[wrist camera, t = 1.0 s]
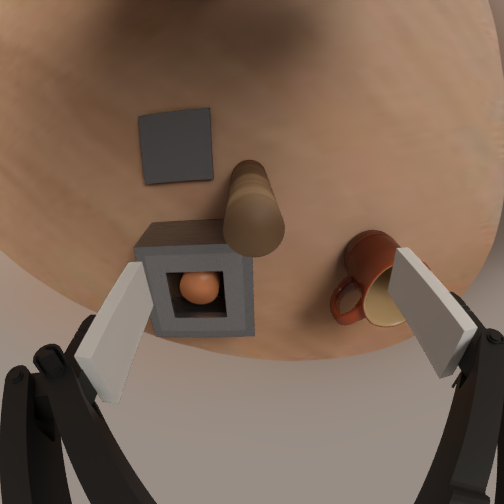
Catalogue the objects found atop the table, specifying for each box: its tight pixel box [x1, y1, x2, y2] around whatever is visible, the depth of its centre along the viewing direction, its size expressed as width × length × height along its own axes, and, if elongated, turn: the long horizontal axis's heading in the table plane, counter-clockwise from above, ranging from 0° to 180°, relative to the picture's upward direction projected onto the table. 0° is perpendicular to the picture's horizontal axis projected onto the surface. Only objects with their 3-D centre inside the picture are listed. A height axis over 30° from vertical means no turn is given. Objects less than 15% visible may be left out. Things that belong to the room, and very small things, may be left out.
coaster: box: [138, 108, 214, 184], centre depth 30 cm, size 8×8×1 cm
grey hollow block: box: [134, 219, 255, 337], centre depth 34 cm, size 12×12×7 cm
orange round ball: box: [180, 271, 220, 304], centre depth 34 cm, size 4×4×3 cm
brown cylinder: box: [223, 160, 285, 257], centre depth 25 cm, size 4×4×16 cm
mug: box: [330, 230, 431, 327], centre depth 33 cm, size 12×9×10 cm
